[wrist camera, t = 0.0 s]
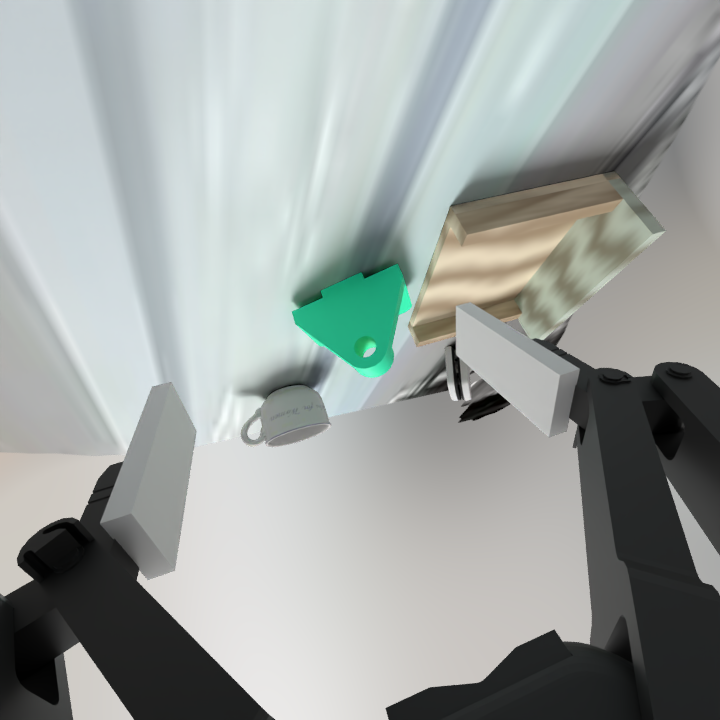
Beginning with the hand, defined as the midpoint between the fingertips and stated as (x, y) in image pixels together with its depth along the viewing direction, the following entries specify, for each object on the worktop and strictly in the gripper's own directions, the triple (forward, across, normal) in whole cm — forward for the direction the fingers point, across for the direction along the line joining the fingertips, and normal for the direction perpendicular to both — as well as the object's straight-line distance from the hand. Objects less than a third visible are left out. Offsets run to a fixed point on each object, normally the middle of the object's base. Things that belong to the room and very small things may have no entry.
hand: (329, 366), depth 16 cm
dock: (+24, +26, -6) cm, 35 cm away
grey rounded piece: (+42, +30, -31) cm, 60 cm away
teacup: (+37, -5, -25) cm, 45 cm away
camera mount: (+24, +7, -6) cm, 26 cm away
